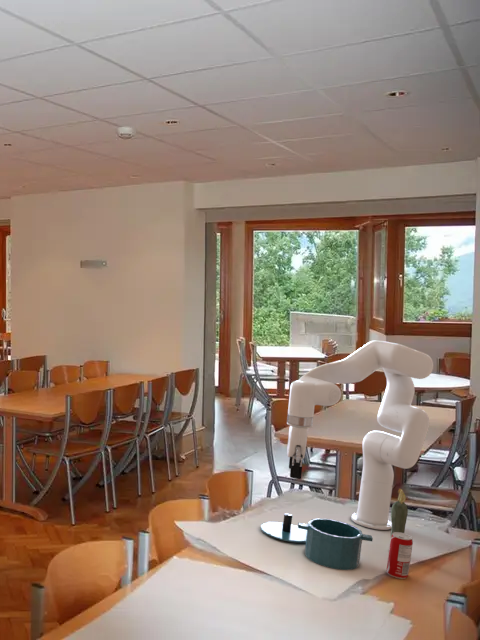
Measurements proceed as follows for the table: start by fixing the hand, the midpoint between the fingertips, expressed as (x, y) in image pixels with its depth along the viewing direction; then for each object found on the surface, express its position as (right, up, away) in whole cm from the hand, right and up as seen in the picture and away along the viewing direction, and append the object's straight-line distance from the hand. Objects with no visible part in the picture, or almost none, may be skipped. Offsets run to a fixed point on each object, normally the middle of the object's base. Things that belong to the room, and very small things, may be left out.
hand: (294, 473), depth 235 cm
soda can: (+20, -24, -23) cm, 39 cm away
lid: (-2, -19, +2) cm, 19 cm away
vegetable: (+28, -23, -7) cm, 37 cm away
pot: (+5, -22, -15) cm, 27 cm away
